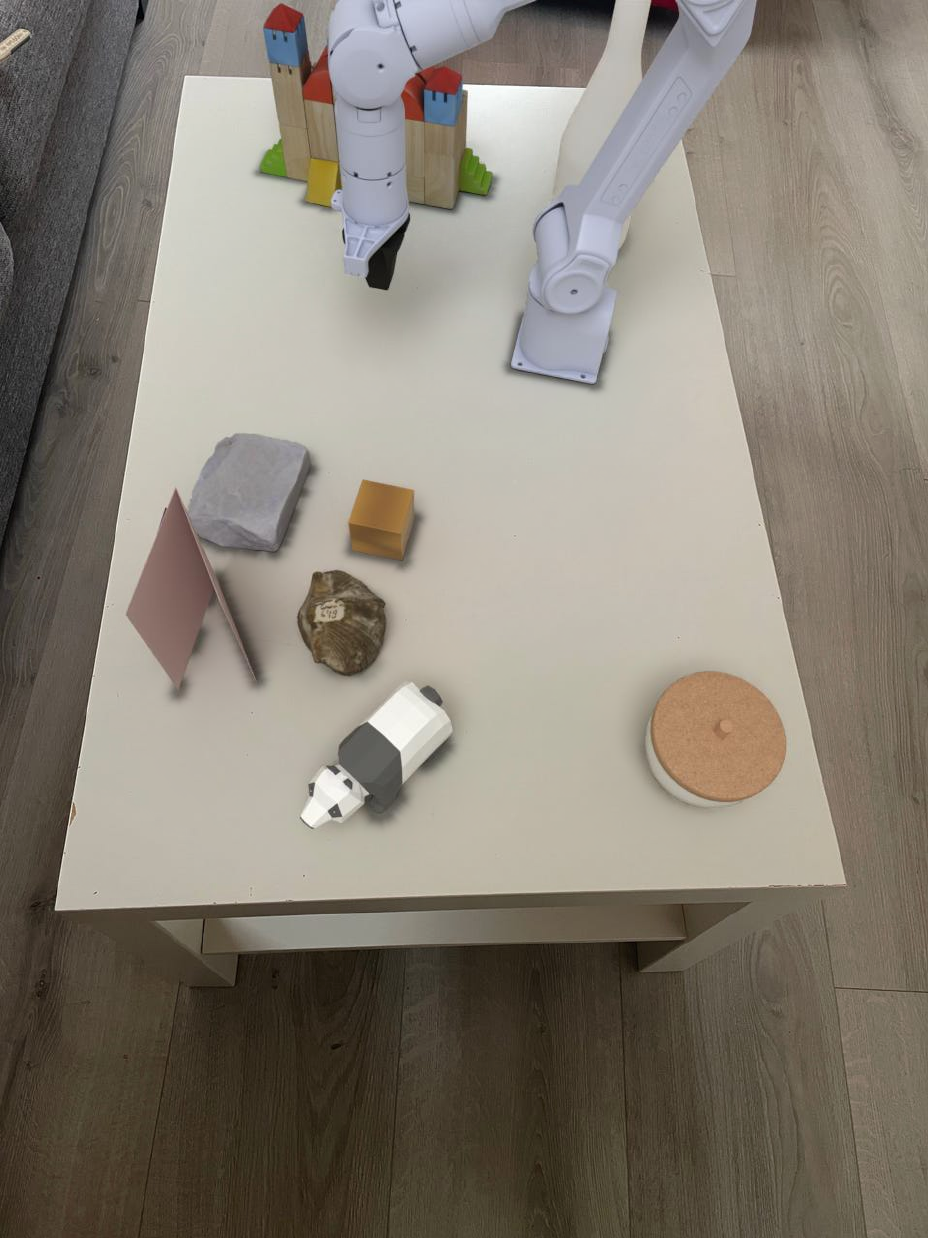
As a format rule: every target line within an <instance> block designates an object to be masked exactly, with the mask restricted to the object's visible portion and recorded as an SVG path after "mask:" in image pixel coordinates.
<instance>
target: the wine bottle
mask: <svg viewBox="0 0 928 1238" xmlns="http://www.w3.org/2000/svg"><path fill="white" fill-rule="evenodd" d="M651 4H652V0H615V3H614V8H613V13H612V17H611V21H610V27H609V32H608V36H607V37H608V38H607V42H606V45H605V48H604V51H603V53H602V55H601V58H600V60H599V61H598V64H597V66H596V67H595V69H594V72H593V73H592V75H591V77H590V79H589V81H588V83H587V84H586V87H585V88H584V91H583V93H582V95H581V97H580V98H579V100H578V102H577V104H576V106H575V108H574V109H573V111H572V113H571V115H570V117H569V119H568V121H567V123H566V125H565V128H564V130H563V131H562V135H561V137H560V143H559V149H558V156H557V163H556V168H555V169H556V170H555V176H554V181H553V189H552V195H551V201H550V202H551V203H553V202H554V201H555V200H556V199H557V198H558V197H559V195H560V194H561V192H562V191H563V189H564V187H565V186H566V185H579V184H580V182H581V181H582V179H583V177H584V176H585V174H586V172H587V171H588V169H589V167H590V166H591V164H592V162H593V161H594V159H595V157H596V156H597V154H598V152H599V151H600V149H601V147H602V146H603V144H604V142H605V141H606V139H607V137H608V136H609V134H610V132H611V131H612V129H613V127H614V126H615V124H616V122H617V121H618V119H619V117H620V116H621V114H622V112H623V111H624V109H625V107H626V106H627V104H628V102H629V101H630V99H631V98H632V96H633V94H634V93H635V91H636V89H637V88H638V86H639V84H640V83H641V81H642V79H643V72H642V71H643V70H642V50H643V49H642V48H643V43H644V38H645V33H646V28H647V23H648V18H649V12H650V8H651ZM551 203H550V204H551ZM633 211H634V210H633ZM633 211H632V212H631V214H630V215H629V217H628V218H627V220H626V221H625V222H624V224H623V228H622V233H621V238H620V244H619V249H618V251H619V250H620V249H621V248H622V246H623V244H624V243H625V241H626V239H627V237H628V233H629V227H630V223H631V220H632V215H633Z"/></svg>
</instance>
